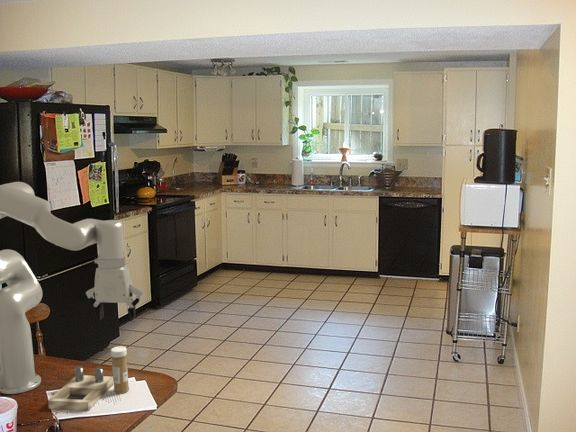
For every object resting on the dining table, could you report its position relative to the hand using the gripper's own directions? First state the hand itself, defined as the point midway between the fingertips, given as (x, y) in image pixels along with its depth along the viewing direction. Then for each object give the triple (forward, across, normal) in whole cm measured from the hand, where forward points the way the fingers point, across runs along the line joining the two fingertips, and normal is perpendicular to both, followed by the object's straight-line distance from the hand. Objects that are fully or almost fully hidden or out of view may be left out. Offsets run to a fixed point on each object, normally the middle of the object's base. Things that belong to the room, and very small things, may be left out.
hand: (116, 319), depth 183 cm
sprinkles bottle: (+23, 0, 0) cm, 23 cm away
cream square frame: (+23, -10, -4) cm, 25 cm away
